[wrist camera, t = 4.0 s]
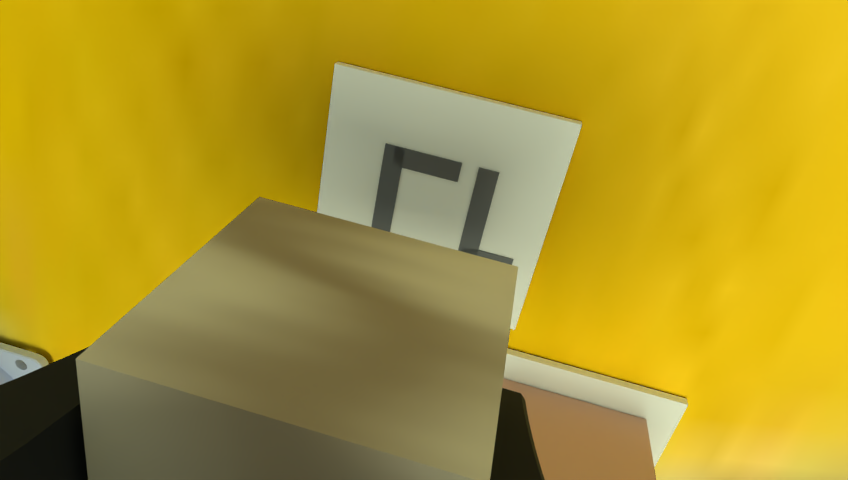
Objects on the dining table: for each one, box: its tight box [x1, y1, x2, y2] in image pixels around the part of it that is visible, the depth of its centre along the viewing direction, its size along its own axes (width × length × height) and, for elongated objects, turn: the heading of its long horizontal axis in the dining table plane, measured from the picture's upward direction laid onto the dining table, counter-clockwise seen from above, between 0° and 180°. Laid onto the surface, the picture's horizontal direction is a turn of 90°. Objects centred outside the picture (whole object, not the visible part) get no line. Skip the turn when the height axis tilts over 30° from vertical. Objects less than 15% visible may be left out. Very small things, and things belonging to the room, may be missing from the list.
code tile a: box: [317, 62, 582, 330], centre depth 19 cm, size 7×7×1 cm
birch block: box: [76, 197, 518, 480], centre depth 10 cm, size 5×5×5 cm
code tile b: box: [504, 348, 688, 467], centre depth 22 cm, size 7×7×1 cm
